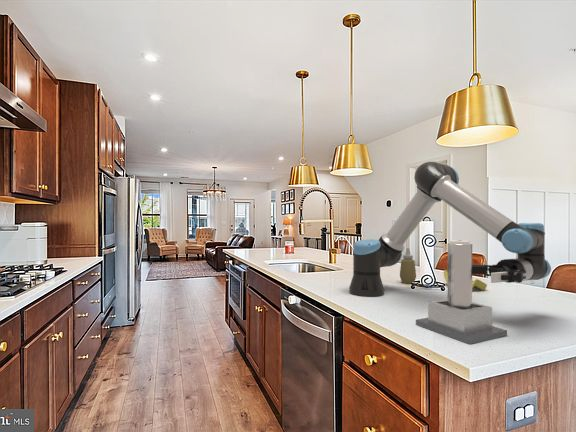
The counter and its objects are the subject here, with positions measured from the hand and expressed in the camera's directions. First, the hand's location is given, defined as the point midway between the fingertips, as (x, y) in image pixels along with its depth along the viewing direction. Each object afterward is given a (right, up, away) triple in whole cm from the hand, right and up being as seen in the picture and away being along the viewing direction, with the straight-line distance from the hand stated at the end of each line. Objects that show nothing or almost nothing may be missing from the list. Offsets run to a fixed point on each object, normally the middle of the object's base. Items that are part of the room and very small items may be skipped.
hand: (469, 274), depth 100 cm
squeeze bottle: (+7, -17, +71) cm, 74 cm away
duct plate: (-4, -16, -2) cm, 17 cm away
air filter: (-4, -15, -2) cm, 15 cm away
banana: (+31, -18, +62) cm, 71 cm away
